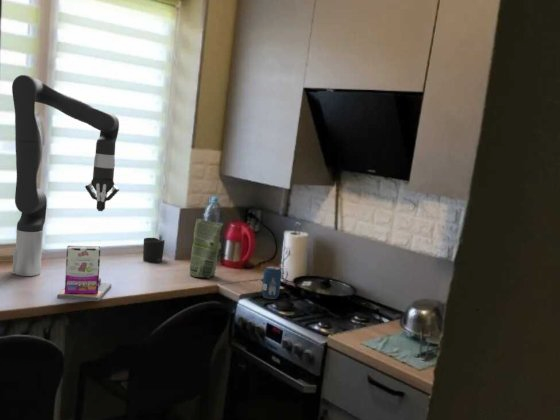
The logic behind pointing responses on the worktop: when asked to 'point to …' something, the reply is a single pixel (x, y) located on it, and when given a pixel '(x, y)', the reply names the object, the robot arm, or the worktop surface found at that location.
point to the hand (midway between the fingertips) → (100, 210)
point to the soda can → (271, 282)
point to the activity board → (88, 297)
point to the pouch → (205, 248)
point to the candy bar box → (82, 270)
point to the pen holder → (153, 250)
